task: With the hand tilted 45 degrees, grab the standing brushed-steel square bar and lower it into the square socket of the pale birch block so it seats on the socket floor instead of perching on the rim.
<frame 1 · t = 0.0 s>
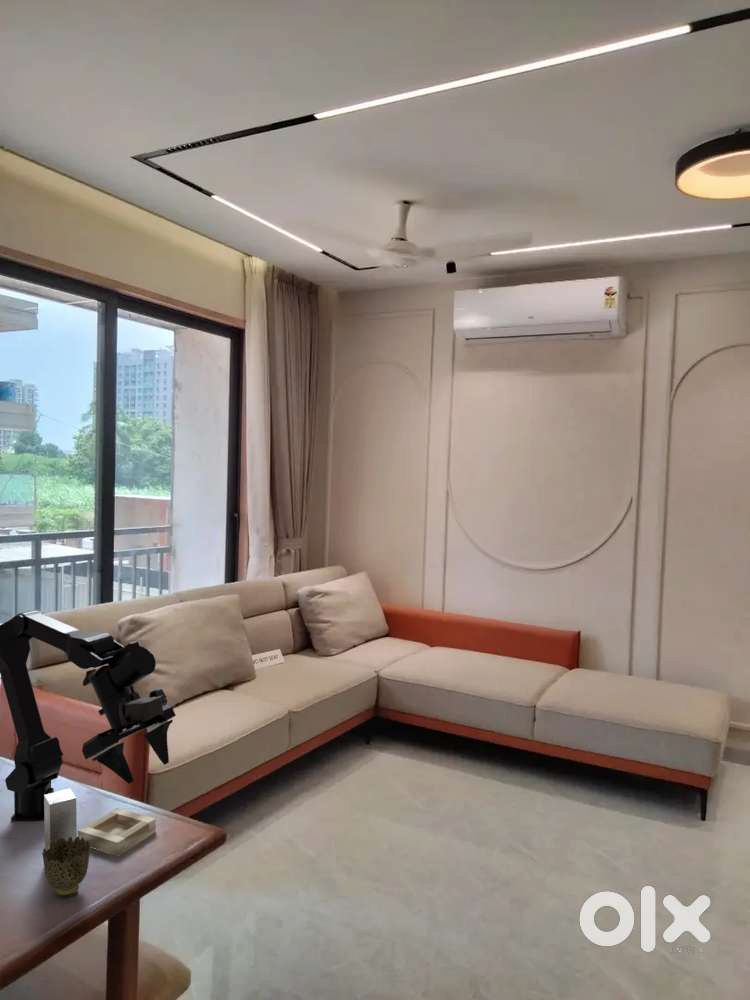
hand: (149, 772, 136), 15 cm above the table, tool tilted 35°, fingers open, 9 cm apart
steel bar: (60, 867, 131), on the table
cup: (67, 894, 123), on the table
socket block: (117, 839, 141), on the table
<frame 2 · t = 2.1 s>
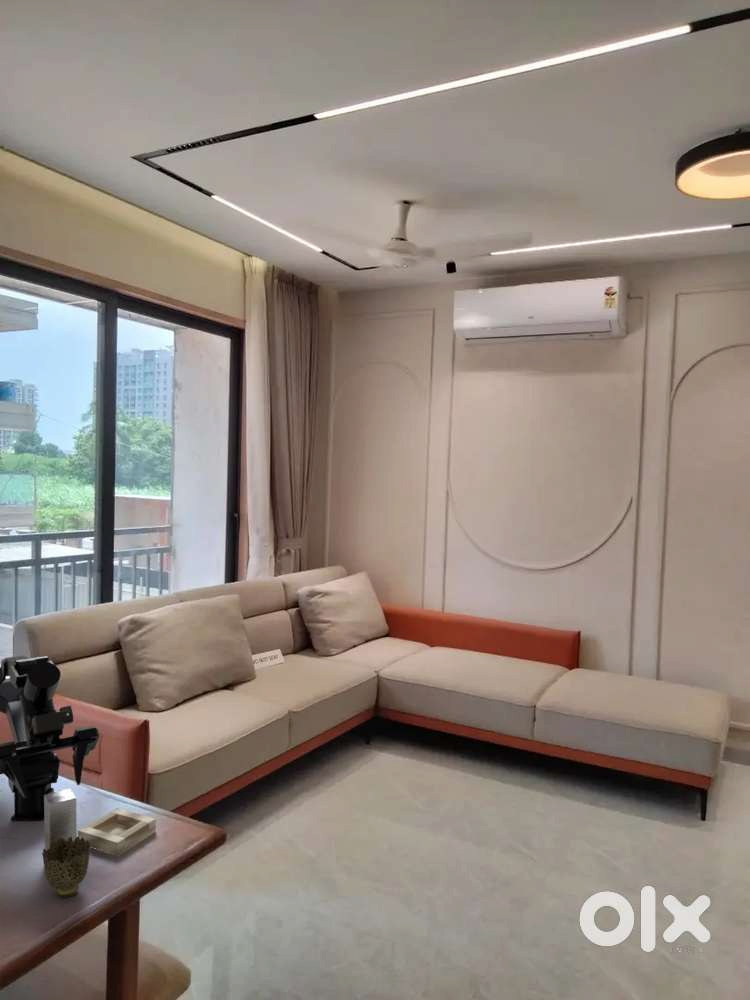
hand: (52, 790, 135), 12 cm above the table, tool tilted 45°, fingers open, 9 cm apart
nothing on the table moved.
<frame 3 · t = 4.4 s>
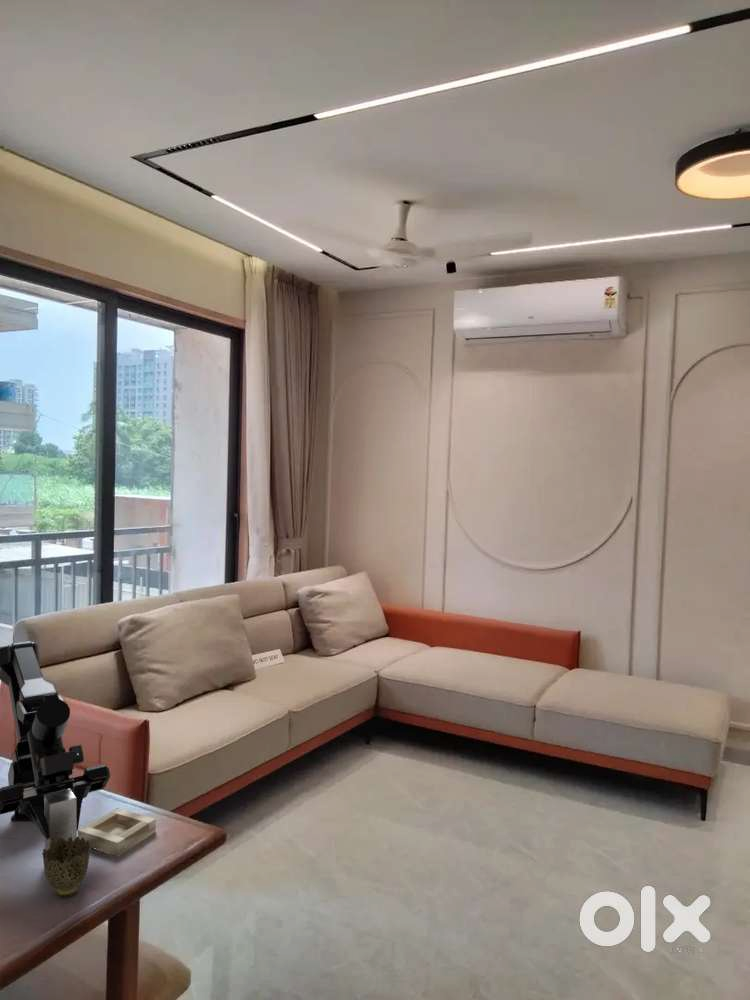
hand: (62, 834, 129), 7 cm above the table, tool tilted 45°, fingers closed on steel bar, 4 cm apart
steel bar: (61, 867, 131), on the table, touching gripper
everything else where it was.
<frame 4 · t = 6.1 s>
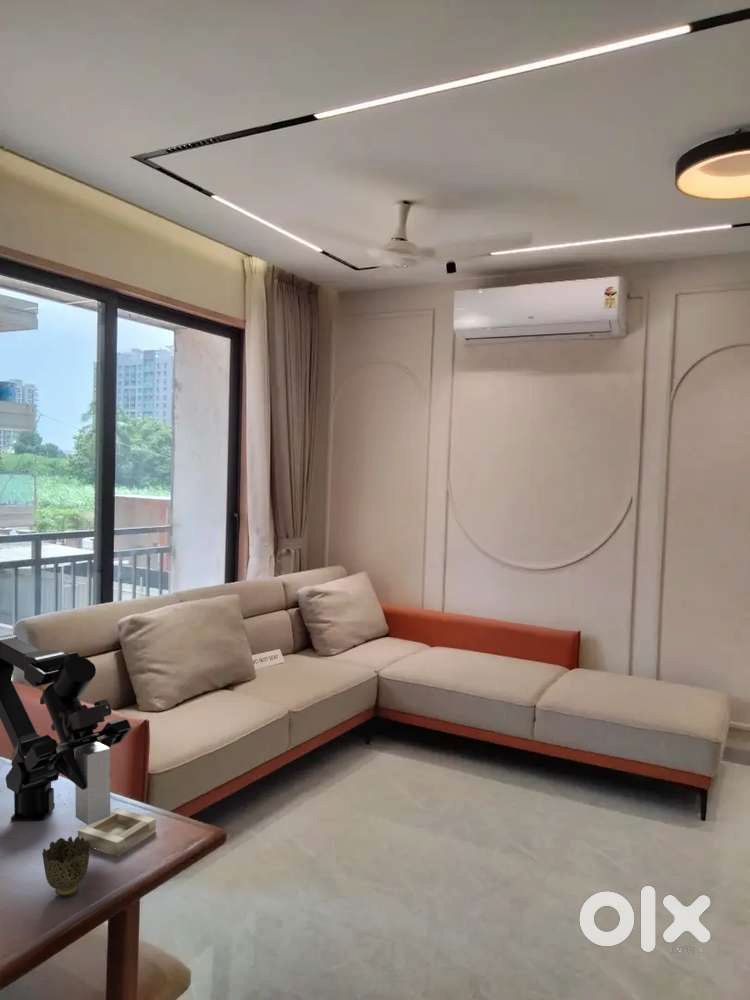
hand: (96, 784, 134), 13 cm above the table, tool tilted 45°, fingers closed on steel bar, 4 cm apart
steel bar: (93, 816, 135), point 7 cm above the table, touching gripper
everything else where it was.
when the fingers open (9 cm above the table, at t = 7.9 s): steel bar drops 2 cm, resting on socket block.
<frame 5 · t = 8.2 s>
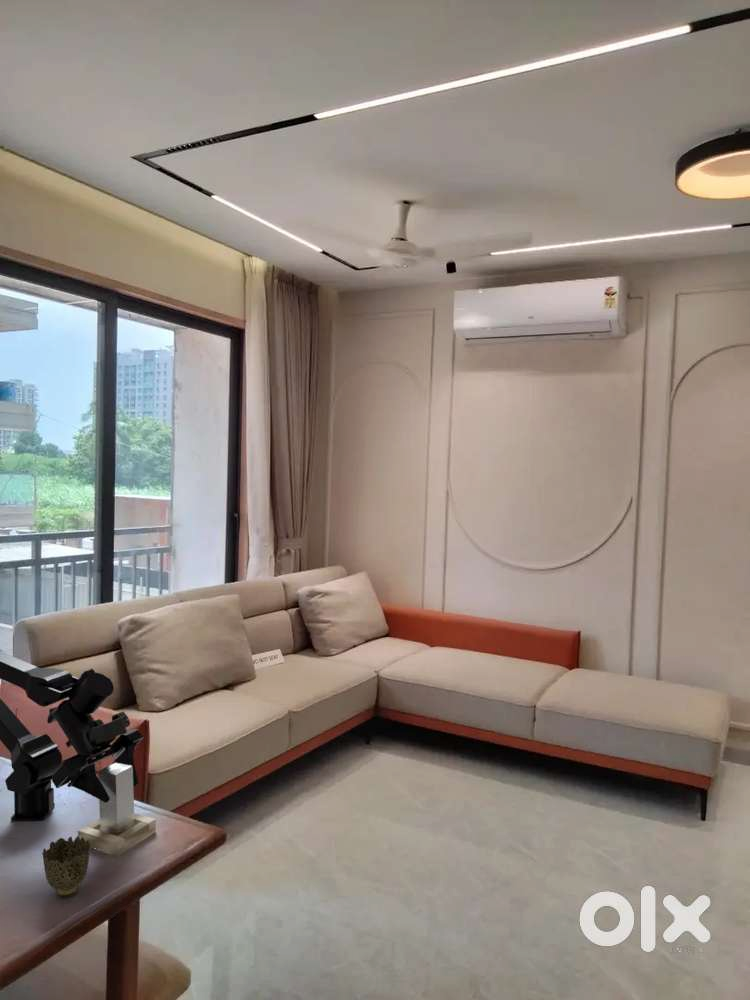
hand: (122, 793, 140), 9 cm above the table, tool tilted 45°, fingers open, 7 cm apart
steel bar: (117, 834, 141), point 1 cm above the table, touching socket block
socket block: (117, 839, 141), on the table, touching steel bar
everything else where it was.
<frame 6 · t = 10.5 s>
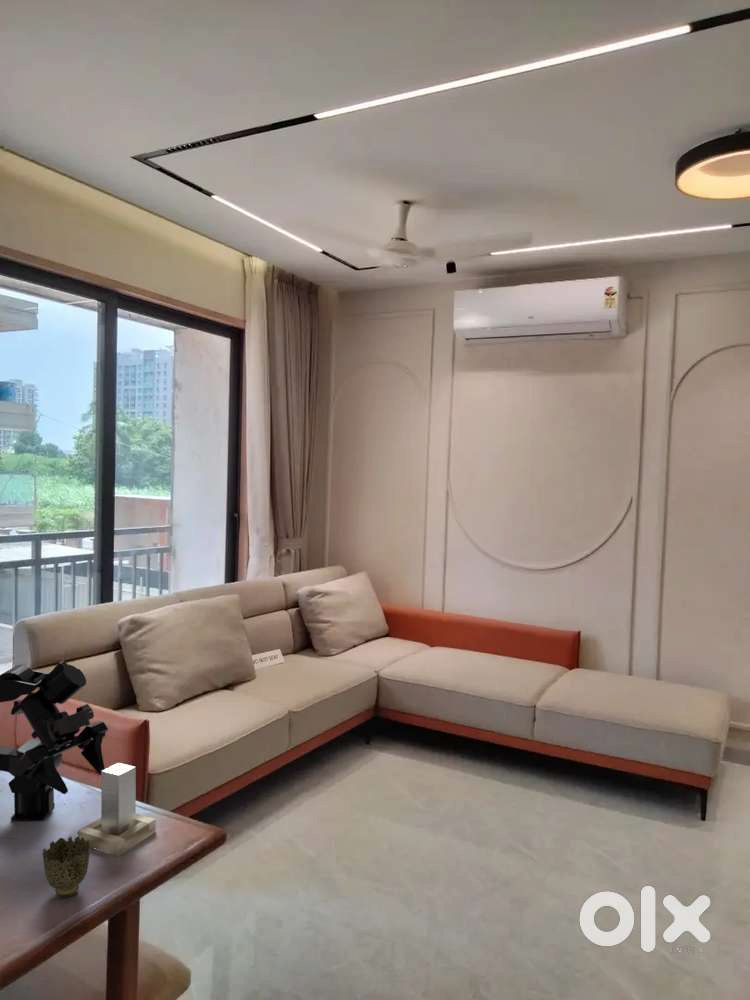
hand: (85, 783, 144), 9 cm above the table, tool tilted 45°, fingers open, 9 cm apart
nothing on the table moved.
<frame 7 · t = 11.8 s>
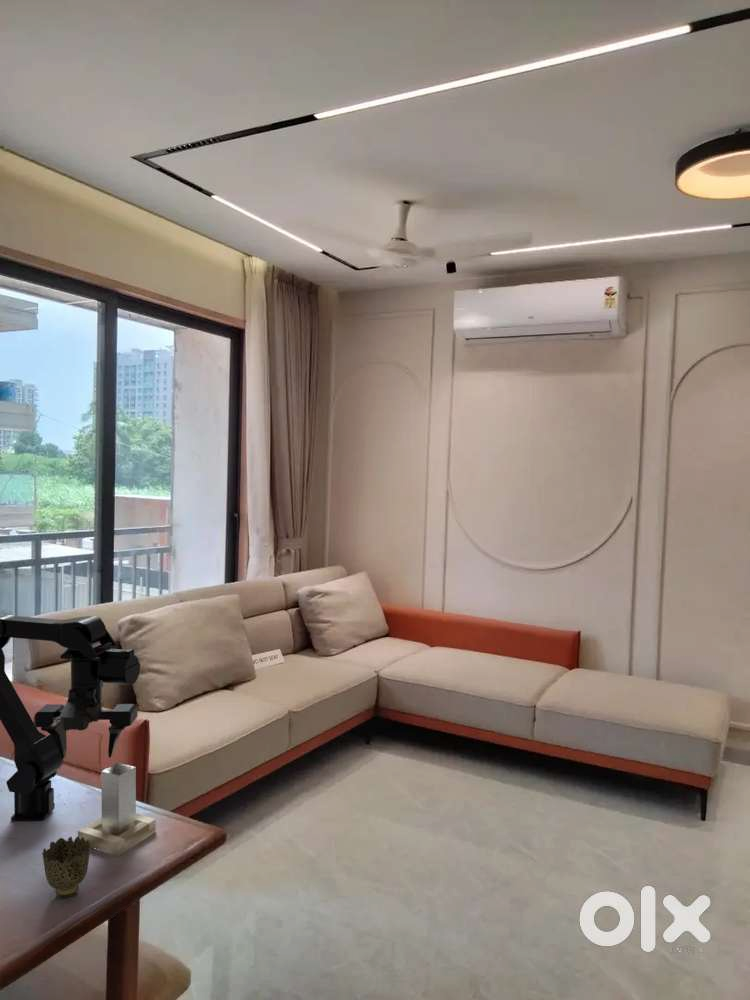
hand: (87, 757, 147), 13 cm above the table, tool pointing down, fingers open, 9 cm apart
nothing on the table moved.
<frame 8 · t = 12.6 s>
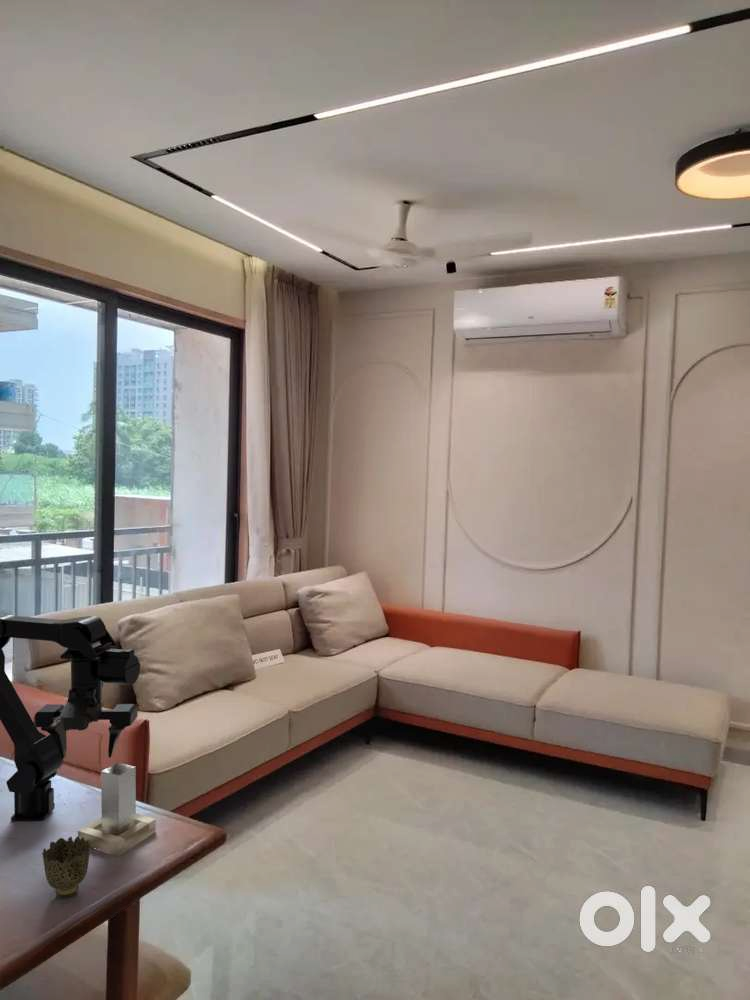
hand: (87, 757, 147), 13 cm above the table, tool pointing down, fingers open, 9 cm apart
nothing on the table moved.
at the end: steel bar 0.3 cm off-centre on the socket block, point 1.0 cm above the socket block's base; steel bar tilted 0°; the gripper is holding nothing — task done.
